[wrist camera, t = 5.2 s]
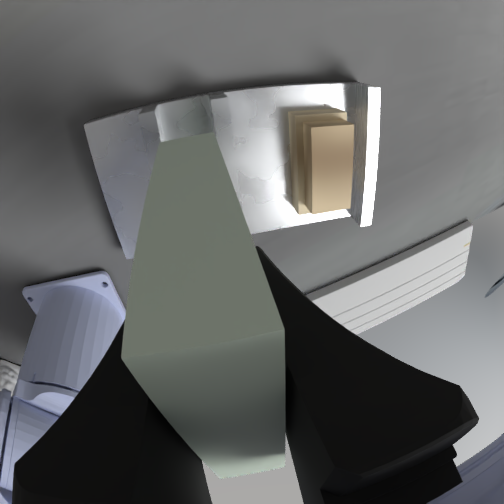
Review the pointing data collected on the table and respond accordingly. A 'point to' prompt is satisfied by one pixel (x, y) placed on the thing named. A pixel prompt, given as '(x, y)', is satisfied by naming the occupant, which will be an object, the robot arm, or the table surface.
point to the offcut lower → (298, 149)
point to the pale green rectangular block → (206, 315)
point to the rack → (234, 149)
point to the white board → (397, 281)
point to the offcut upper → (328, 165)
